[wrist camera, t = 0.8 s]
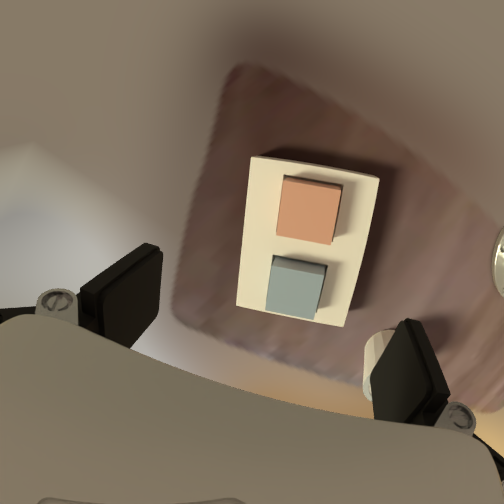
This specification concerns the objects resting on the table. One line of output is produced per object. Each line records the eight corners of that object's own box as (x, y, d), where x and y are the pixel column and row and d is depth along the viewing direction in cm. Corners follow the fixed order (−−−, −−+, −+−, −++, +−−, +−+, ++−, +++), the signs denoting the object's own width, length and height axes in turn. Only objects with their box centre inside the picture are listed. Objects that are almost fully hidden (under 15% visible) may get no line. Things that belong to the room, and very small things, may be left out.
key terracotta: (339, 186, 27) (341, 190, 25) (330, 237, 29) (330, 245, 26) (286, 177, 28) (283, 180, 25) (280, 228, 29) (275, 235, 27)
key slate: (324, 265, 30) (324, 275, 28) (314, 307, 32) (313, 320, 29) (275, 256, 31) (271, 265, 28) (269, 298, 32) (265, 310, 30)
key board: (374, 175, 28) (379, 178, 25) (342, 312, 34) (342, 326, 31) (258, 155, 30) (251, 156, 27) (243, 292, 36) (236, 305, 33)
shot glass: (391, 315, 33) (401, 351, 26) (420, 346, 33) (432, 383, 27) (349, 347, 35) (350, 386, 29) (380, 374, 36) (384, 412, 29)
